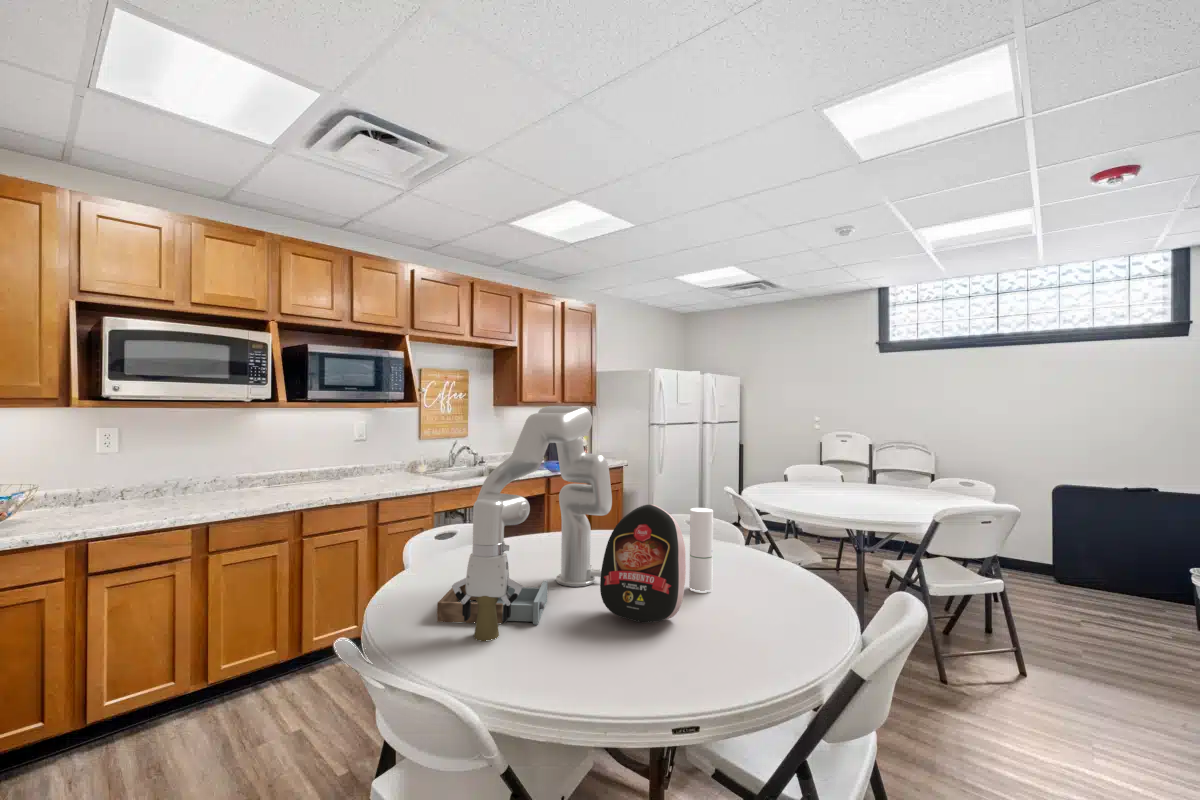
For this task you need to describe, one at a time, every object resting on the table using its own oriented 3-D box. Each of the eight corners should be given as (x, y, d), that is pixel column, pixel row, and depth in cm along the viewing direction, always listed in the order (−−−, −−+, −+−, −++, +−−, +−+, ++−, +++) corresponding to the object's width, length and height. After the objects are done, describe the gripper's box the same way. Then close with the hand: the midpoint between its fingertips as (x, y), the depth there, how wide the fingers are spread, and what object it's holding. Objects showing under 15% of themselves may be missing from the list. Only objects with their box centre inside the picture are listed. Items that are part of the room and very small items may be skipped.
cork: (475, 631, 134) (476, 587, 134) (500, 630, 135) (501, 586, 135) (472, 641, 128) (473, 595, 128) (497, 641, 129) (498, 595, 129)
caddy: (514, 600, 156) (515, 583, 156) (501, 624, 139) (501, 604, 139) (457, 599, 157) (457, 581, 157) (437, 622, 140) (437, 602, 140)
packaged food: (592, 624, 139) (594, 509, 140) (616, 600, 158) (617, 498, 158) (675, 638, 132) (676, 516, 132) (690, 610, 150) (691, 503, 151)
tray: (550, 600, 156) (551, 580, 156) (541, 624, 138) (541, 602, 138) (491, 598, 156) (491, 579, 156) (474, 622, 139) (475, 600, 139)
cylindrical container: (714, 588, 170) (715, 509, 170) (709, 594, 163) (710, 512, 164) (692, 584, 173) (693, 507, 173) (686, 591, 166) (687, 510, 167)
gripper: (525, 546, 135) (524, 614, 135) (458, 544, 136) (456, 612, 136) (519, 554, 128) (518, 626, 127) (448, 552, 128) (446, 624, 128)
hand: (486, 619), depth 131 cm, fingers open, 9 cm apart
